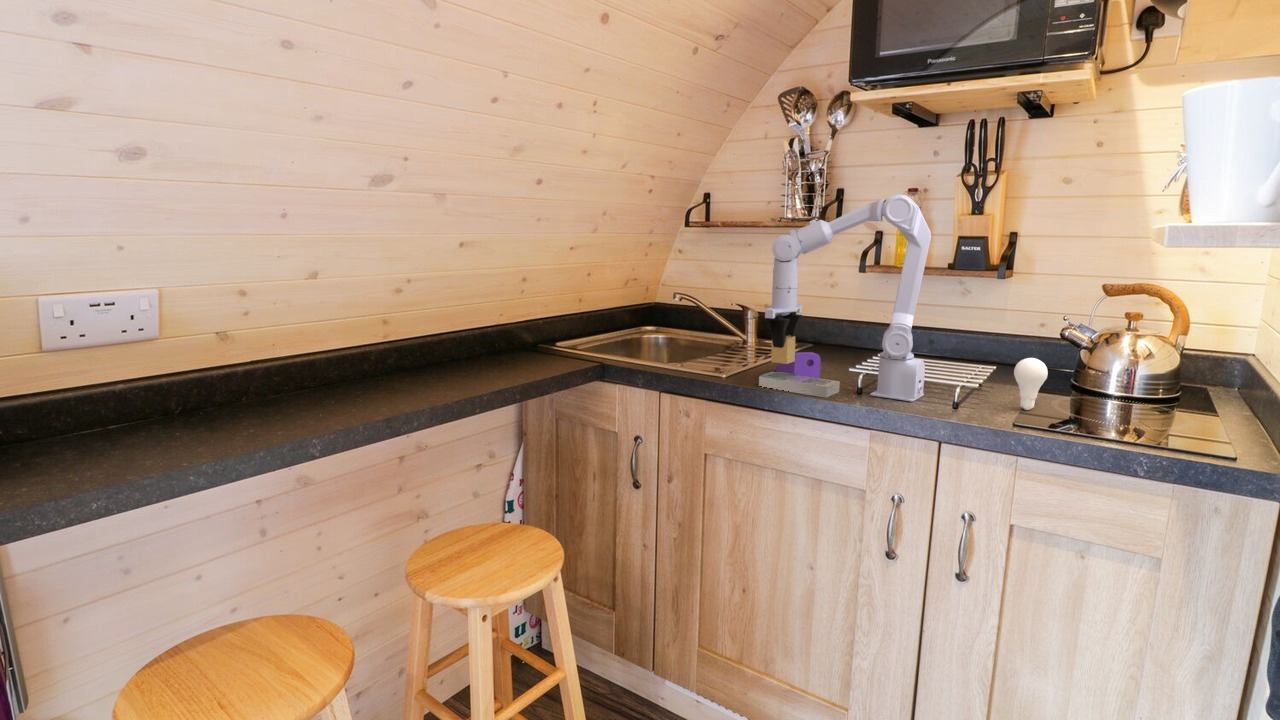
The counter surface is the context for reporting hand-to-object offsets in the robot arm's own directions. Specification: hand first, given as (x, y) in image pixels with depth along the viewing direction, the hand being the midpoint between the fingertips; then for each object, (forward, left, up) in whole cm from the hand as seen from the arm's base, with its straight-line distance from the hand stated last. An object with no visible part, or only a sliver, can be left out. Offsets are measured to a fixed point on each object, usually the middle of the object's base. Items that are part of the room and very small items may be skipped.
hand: (782, 345), depth 167 cm
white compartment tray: (-4, 0, -10) cm, 11 cm away
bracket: (+3, -15, -10) cm, 19 cm away
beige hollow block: (0, 0, -4) cm, 4 cm away
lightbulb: (-50, -13, -10) cm, 53 cm away
